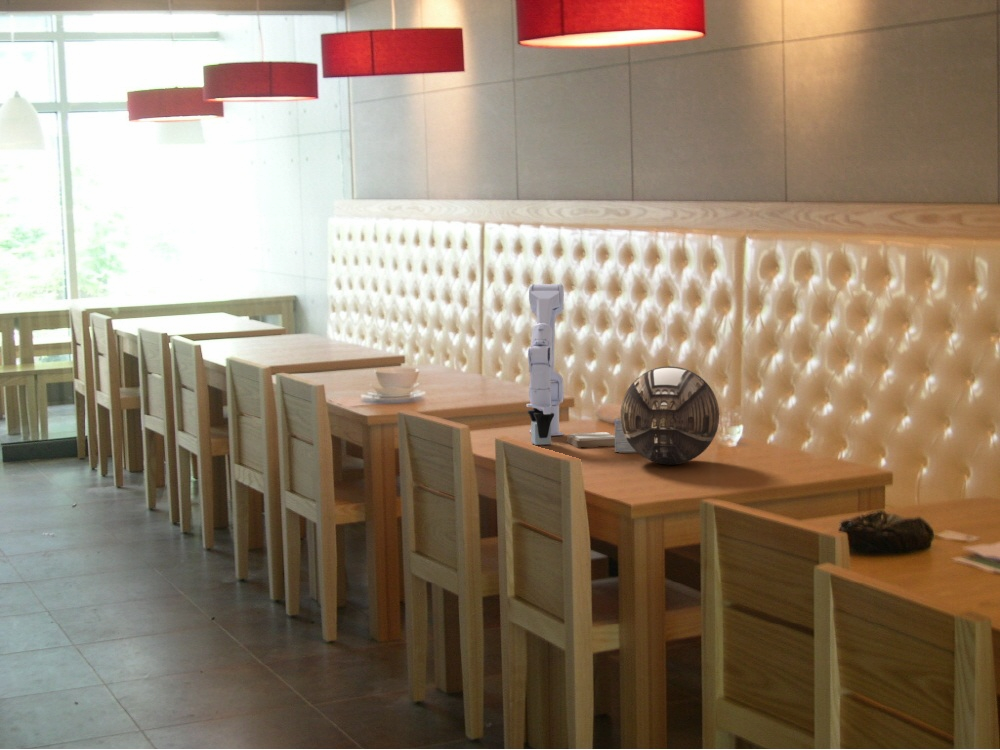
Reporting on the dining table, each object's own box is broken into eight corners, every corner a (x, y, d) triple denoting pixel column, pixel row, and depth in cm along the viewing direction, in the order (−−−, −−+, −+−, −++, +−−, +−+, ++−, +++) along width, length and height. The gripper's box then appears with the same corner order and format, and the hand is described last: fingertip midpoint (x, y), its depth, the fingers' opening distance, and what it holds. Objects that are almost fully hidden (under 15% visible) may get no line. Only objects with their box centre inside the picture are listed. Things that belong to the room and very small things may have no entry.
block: (531, 442, 365) (531, 421, 364) (546, 441, 366) (546, 420, 365) (535, 444, 360) (535, 423, 360) (550, 444, 361) (550, 422, 361)
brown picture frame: (567, 442, 366) (567, 433, 365) (608, 440, 368) (608, 431, 368) (577, 448, 356) (577, 439, 356) (619, 445, 359) (619, 436, 358)
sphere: (723, 456, 340) (724, 362, 337) (713, 474, 316) (713, 373, 313) (629, 453, 347) (629, 360, 344) (612, 470, 323) (612, 371, 320)
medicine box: (644, 450, 352) (644, 418, 351) (644, 453, 347) (644, 421, 346) (614, 450, 353) (614, 418, 352) (614, 453, 348) (614, 421, 347)
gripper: (520, 385, 367) (520, 432, 369) (533, 392, 353) (533, 441, 355) (544, 384, 369) (544, 431, 370) (558, 391, 355) (558, 439, 356)
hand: (540, 436), depth 363 cm, fingers closed on block, 4 cm apart
